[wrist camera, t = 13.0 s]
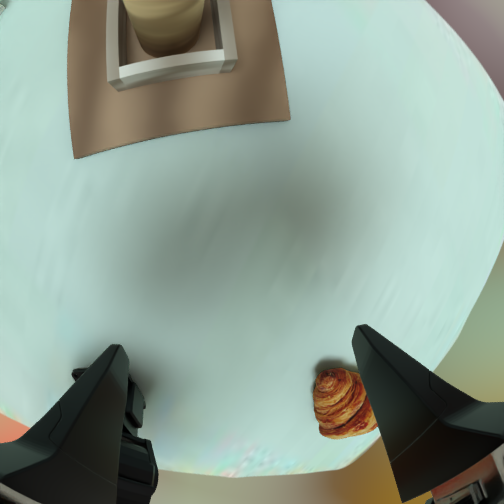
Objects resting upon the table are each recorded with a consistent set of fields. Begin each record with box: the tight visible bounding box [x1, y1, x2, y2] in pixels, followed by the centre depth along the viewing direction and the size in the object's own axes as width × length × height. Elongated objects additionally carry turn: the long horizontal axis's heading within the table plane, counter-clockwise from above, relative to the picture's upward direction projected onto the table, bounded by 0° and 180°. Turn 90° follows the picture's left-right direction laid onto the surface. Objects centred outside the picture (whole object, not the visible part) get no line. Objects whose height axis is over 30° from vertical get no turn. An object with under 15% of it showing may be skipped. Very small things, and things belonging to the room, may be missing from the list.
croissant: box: [313, 368, 378, 439], centre depth 30 cm, size 21×10×8 cm
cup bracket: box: [67, 0, 291, 159], centre depth 14 cm, size 16×16×4 cm
